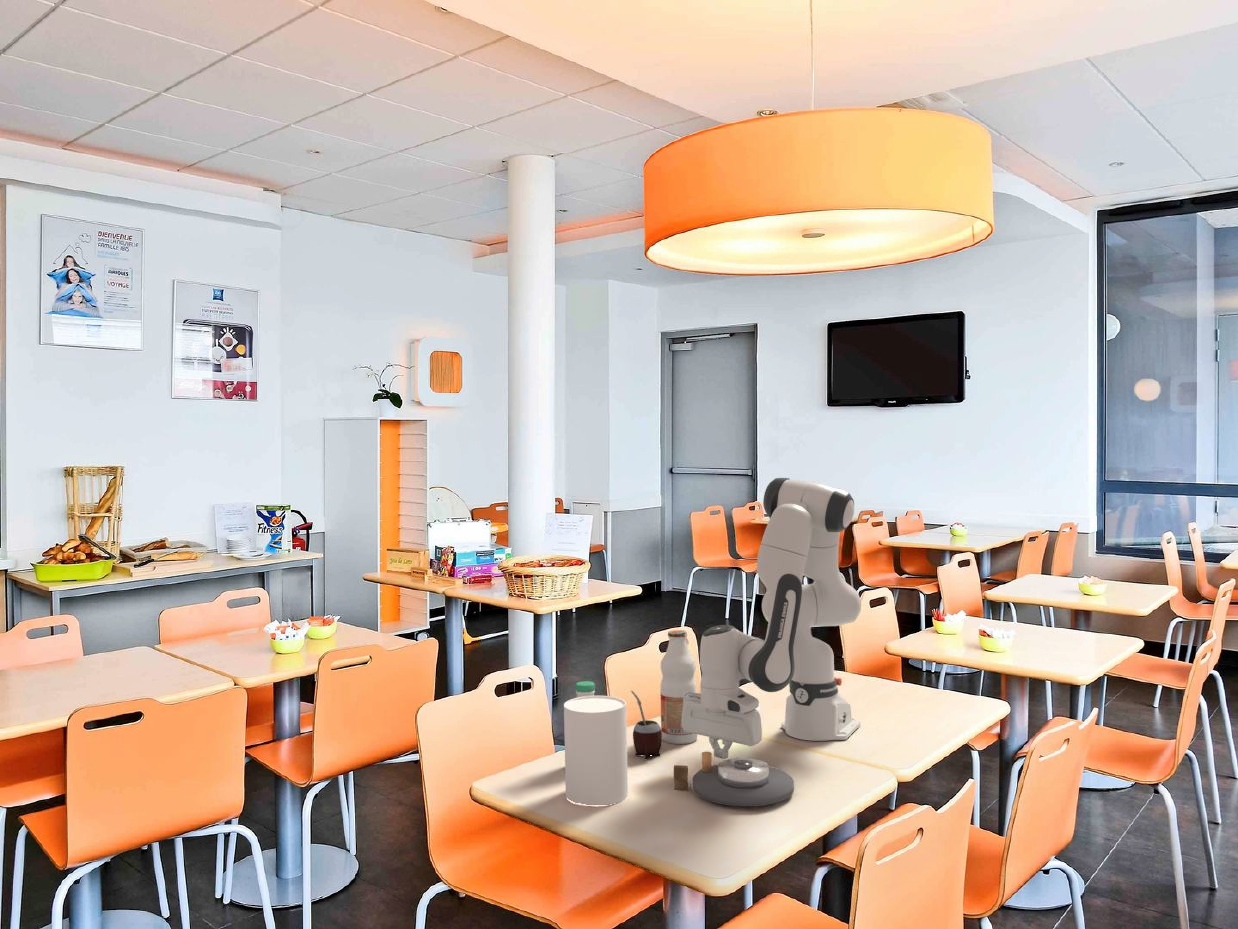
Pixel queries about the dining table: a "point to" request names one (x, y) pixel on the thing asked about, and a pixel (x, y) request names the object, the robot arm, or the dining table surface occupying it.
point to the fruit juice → (676, 688)
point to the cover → (743, 773)
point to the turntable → (714, 791)
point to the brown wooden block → (680, 778)
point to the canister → (596, 750)
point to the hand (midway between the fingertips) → (721, 757)
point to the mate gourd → (646, 736)
